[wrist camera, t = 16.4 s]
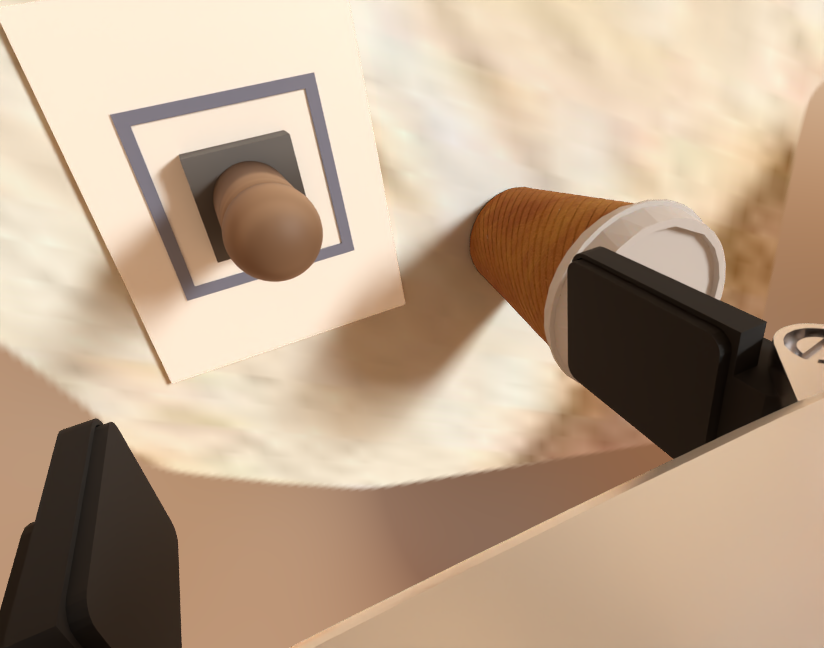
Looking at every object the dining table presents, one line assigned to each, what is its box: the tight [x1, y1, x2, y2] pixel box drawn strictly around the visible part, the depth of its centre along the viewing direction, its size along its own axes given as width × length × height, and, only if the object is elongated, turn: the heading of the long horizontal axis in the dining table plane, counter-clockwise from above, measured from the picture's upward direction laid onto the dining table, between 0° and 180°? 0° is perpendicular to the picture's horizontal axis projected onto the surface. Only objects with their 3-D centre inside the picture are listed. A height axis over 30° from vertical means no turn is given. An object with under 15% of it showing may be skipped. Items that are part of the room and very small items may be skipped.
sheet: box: [0, 0, 406, 384], centre depth 27 cm, size 18×14×1 cm
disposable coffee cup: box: [470, 187, 726, 383], centre depth 30 cm, size 10×10×12 cm
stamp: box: [179, 130, 323, 282], centre depth 23 cm, size 5×5×9 cm
